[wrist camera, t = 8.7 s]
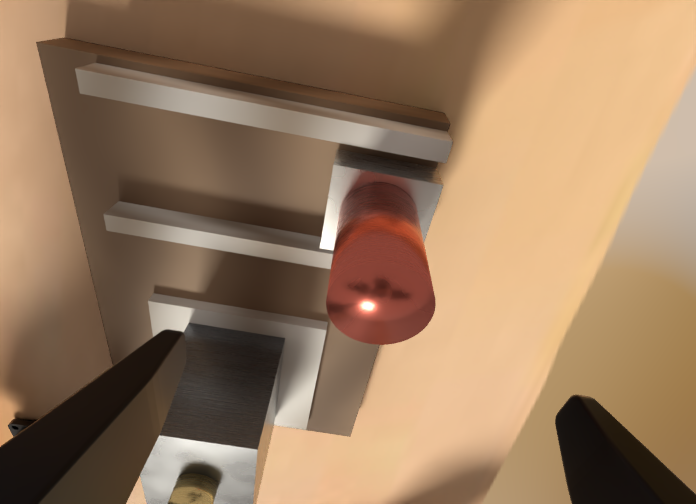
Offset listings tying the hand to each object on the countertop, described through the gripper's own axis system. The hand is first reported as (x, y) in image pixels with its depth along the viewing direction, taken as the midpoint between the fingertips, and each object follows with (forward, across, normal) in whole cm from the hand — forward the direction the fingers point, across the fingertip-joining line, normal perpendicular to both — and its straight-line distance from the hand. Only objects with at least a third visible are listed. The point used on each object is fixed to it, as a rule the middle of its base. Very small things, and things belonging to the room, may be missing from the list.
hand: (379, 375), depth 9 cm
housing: (+8, +6, +12) cm, 16 cm away
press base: (+11, +6, +7) cm, 14 cm away
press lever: (+9, 0, 0) cm, 9 cm away
